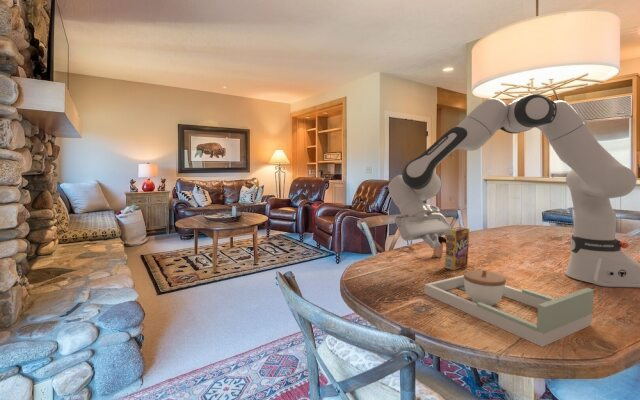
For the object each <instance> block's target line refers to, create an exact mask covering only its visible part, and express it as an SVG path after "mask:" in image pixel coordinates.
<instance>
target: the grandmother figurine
mask: <svg viewBox="0 0 640 400" xmlns="http://www.w3.org/2000/svg"><path fill="white" fill-rule="evenodd" d="M430 239H431V238H430ZM431 240H432V239H431ZM432 241H433V240H432ZM438 241H439V243H440V246H439V247H438V248H433V254H432V255H431V257H432V258H437V259H443V255H444V254H443V253H444V244H445V245H446V238H445V237H444V236H438Z"/></svg>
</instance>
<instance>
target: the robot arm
mask: <svg viewBox="0 0 640 400" xmlns="http://www.w3.org/2000/svg"><path fill="white" fill-rule="evenodd" d="M534 128H535V129H536V128H537V129H538V130H540V131H541V133H543V135H544V137H545V138H546V139H547V141H548V143H549V145H550V146H551V148H552V149H553V150H554V152H555V154H556V155H557V157H558V158H559V160H560V161H562V162H563V163H564V164H565V165H566V166H568V167H569V168H570V170H569V171H568V173H567V175H566V177H565V184H566V186H567V187H568V189H569V191H570V196H571V200H572V207H573V214H574V215H573V233H572V235H571V238H570V251H571V252H570V257H569V262H568V264H567V267H566V269H565V272H564V274H565V275H566V276H567V277H570V278H572V279H574V280H578V281H582V282H586V283H590V284H593V285H597V286H600V287H606V288H607V287H608V288H609V287H612V288H613V287H614V288H640V263H639V262H638V261H636V260H635V259H634V258H633V257H631V256H629V255H628V254H627V253H625V252H624V251H623V250H622V249H628V248H629V247H630V243H628V242H627V241H623V240H622V241H621V240H619V239H617V238H616V234H617V233H616V231H617V221H618V220H617V219H618V218H617V214H616V212H615V211H614V209H613V207H612V204H611V201H610V199H615V198H620V197H624V196H627V195H629V194H630V193H632V191H634V189H636V188H635V187H636V185H637V176H636V174H635V173H634V171H633V170H632V169H630V168H628V167H627V166H626V165H623V164H622V163H620V162H619V161H618V160H617V159H616V158H615V157H614V156H613V155H612V154H611V153H610V152H609V151H608V150H607V149H606V148H604V147H603V146H602V145H601V144H600V143H599V142H598V140H597V139H596V137H595V136H594V134H593V132H591V129H590V128H589V127H588V126H587V124H586V122H585V120H583V118H582V117H581V115H580V114H579V113H578V112H577V111H576V110H575V108H574V107H573V106H572V105H571V104H570V103H568V102H567V101H565V100H560V99H559V100H554V101H553V100H552V99H550V98H549V97H548V96H546V95H544V94H540V93H531V94H526V95H524V96H522V97H520V98H517V99H515V100H514V101H513V102H511V103H508V104H507V103H505V102H504V101H503V100H501V99H499V98H495V97H489V98H487V99H485V100H484V101H482V102H481V103H479V105H477V106H476V107H474V109H473V110H471V112H470V113H468V114H467V116H465V118H464V119H463V120H461V122H460V123H458V124H457V125H456V126H454V127H452V128H451V129H449V130H447V132H445V133H444V134H442V135H441V136H440V137H439V138H438V139H437V140H436V141H435V142H434V143H433V144H431V146H429V147H428V148H427V149H426V150H425V151H423V152H422V153H421V154H420V155H418V156H417V157H415V158H413V159H411V160H409V161H408V162H407V163H406V164H405V166H404V167H403V169H402V172H401V173H402V174H397V175H396V176H394V177H393V178H392V179H391V180H390V182H389V183H388V188H387V189H388V192H389V195H390V197H391V199H392V201H393V203H394V204H395V206H396V207H397V208H398V209H399V213H400V214H401V215H397V216H396V217H394V222H395V224H396V226H397V230H398V232H399V235H400V236H401V238H402V239H403V240H404V241H406V242H408V241H415V240H421V239H422V241H423V242H424V243H426V244H427V245H429V248H431V249H434V248H438V247H439V246H440V243H439V241H438V236H442V237H444V236H447V234H448V233H449V232H450V231H451V228H452V225H450V222H449V221H448V220H447V219H446V217H445V216H444V215H443V214H442V213H440V212H441V209H440V208H439V207H438V206H435V205H432V204H428V203H425V202H424V201H427V200H429V199H431V198H434V197H436V196H437V195H438V194H439V193H440V191H441V189H442V181H441V180H442V179H440V177H439V176H438V174H437V173H436V172H435V171H436V169H437V167H438V165H440V164H441V162H443V161H444V160H445V159H447V158H448V157H449V156H450V155H451V154H452V153H453V152H455V151H456V150H464V151H468V152H472V151H477V150H479V149H480V148H482V147H483V146H484V145H485V144H486V143H487V142H488V141H489V140H490V139H492V137H493V136H494V135H495V133H496V132H497V131H499V130H501V131H503V132H504V133H507V134H513V135H514V134H520V133H524V132H528V131H530V130H532V129H534ZM431 239H432V240H433V241H432V240H431Z"/></svg>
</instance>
